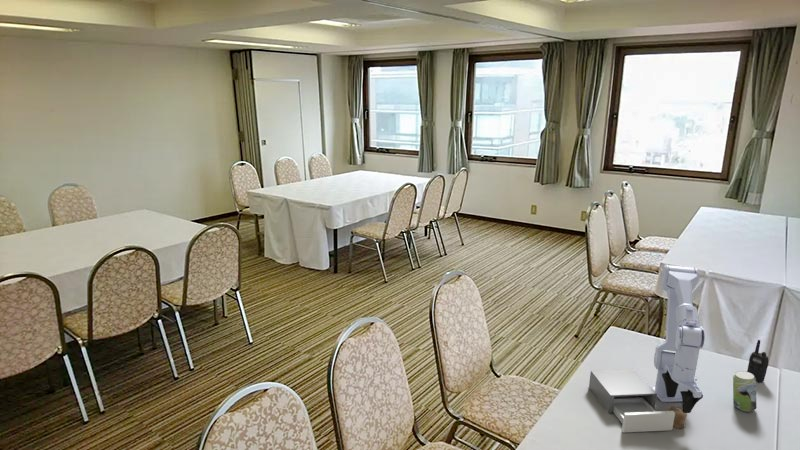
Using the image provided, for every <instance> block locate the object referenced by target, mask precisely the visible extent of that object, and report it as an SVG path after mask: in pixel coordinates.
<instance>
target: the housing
mask: <svg viewBox="0 0 800 450" xmlns="http://www.w3.org/2000/svg"><path fill="white" fill-rule="evenodd" d="M589 373H590V374H589V375H590V376H589V384H588V388H589V389H590V391H591V392H592V393H593V395H594V396H595V397H596V399H597V400H598V401H599V403H600V404H601V406H602V407H603V408H604V409H605V410H606V412H607V413H608V414H612V413H613V411H612V410H613V403H614V398H624V397H643V398H644V399H645V400H646V401H647V402H648V403H649V404H650V405H651V406H652V408H653V409H654V410H655V409H656V404H657V403H656V402H657V398H658V397H657V393H656V392H655V391H654V390H653V389H652V388H651V387H652V386H651V385H649V383H648V382H647V381H646V380H645V379H644V378H643V377H642V376H641V375H640V374H639V373H638V372H637V371H636V370H635V369H634V368H624V369H623V368H622V369H602V370H601V369H599V370H598V369H596V370H594V369H593V370H590V372H589ZM655 411H656V410H655Z"/></svg>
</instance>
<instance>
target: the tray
mask: <svg viewBox="0 0 800 450" xmlns="http://www.w3.org/2000/svg"><path fill="white" fill-rule="evenodd" d="M612 413H613V414H614V415H615V416H616V418H617V419H618V420H619V421H620V423H621V424H622V427H621V431H622V433H639V432H656V431H657V432H659V431H661V432H662V431H673V429H674V428H673V423H674V417H675V412H674V411H667V410H664V411H663V410H661V411H659V410H658V411H657V410H654V409H653V408H652V406H651V405H650V404H649V403H648V402H647V401H646V400H645V399H644V398H643V397H637V396H629V397H614V403H613V410H612Z"/></svg>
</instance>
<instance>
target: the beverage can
mask: <svg viewBox="0 0 800 450" xmlns="http://www.w3.org/2000/svg"><path fill="white" fill-rule="evenodd" d="M732 376H733V377H732V380H733V381H732V392H733V393H732V395H733V396H732V397H733V398H732V401H733V402H732V403H733V406H734V407H736V408H737V409H739V410H740V411H743V412H752V411H754V410H756V409H757V395H758V394H757V392H758V391H757V388H758V387H757V383H758V382H757V381H756V378H755V377H754V375H753V374H752V373H749V372H747V370H746V371H745V370H739V371H736V372H735V373H734V374H733V375H732Z"/></svg>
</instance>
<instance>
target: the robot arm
mask: <svg viewBox="0 0 800 450" xmlns="http://www.w3.org/2000/svg"><path fill="white" fill-rule="evenodd" d="M699 279H700V272H699V269H698V268H697V266H696V267H695V266H694V267H689V266H680V265H670V264H664V266H662V269H661V281H660V282H661V283H660V285H661V289H662V290H663V291H665V292H666V296H667V307H666V321H665V322H666V323H665V325H666V327H665V340H664V341H663V342H661V343H659V344H657V345H656V346H655V352H654V356H653V365H654V368H655V369H656V370H657V374H656V381H655V386H650V387H651V388H652V389H653V390H654V391H655V392H656V393H657V397H656V398H658V400H659V401H660V402H662V403H671V402H672V403H675V402H676V403H677V402H681V410H682V412H683V413H686V414H690V413H692V410H693V408H694V407H695V406H696V404H697V403H698V402H699V401H701V400H702V399H703V397H704V394H703V391H702V390H701V389H700V387H699V385H698V383H697V381H698V378H697V377H696V370H697V366H698V365H697V364H698V359H699V354H700V349H701V348H703V347H704V345H705V339H706V338H705V337H706V336H705V334H706V333H705V329H704V327H703V326H702V325H703V324H700V318H699V312H698V308H697V307H696V306H694V305H693V291H694V290H695V288H696V287H697V285H698V284H699Z"/></svg>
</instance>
